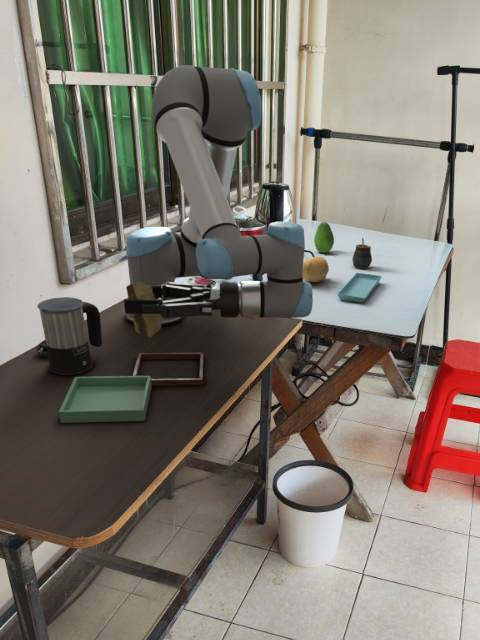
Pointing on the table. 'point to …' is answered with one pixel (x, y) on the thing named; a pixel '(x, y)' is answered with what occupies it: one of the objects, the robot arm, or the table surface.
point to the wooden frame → (172, 356)
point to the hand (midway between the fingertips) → (127, 298)
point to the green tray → (106, 399)
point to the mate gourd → (362, 256)
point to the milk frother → (68, 334)
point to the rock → (144, 322)
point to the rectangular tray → (359, 287)
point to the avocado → (324, 238)
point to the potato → (315, 269)
